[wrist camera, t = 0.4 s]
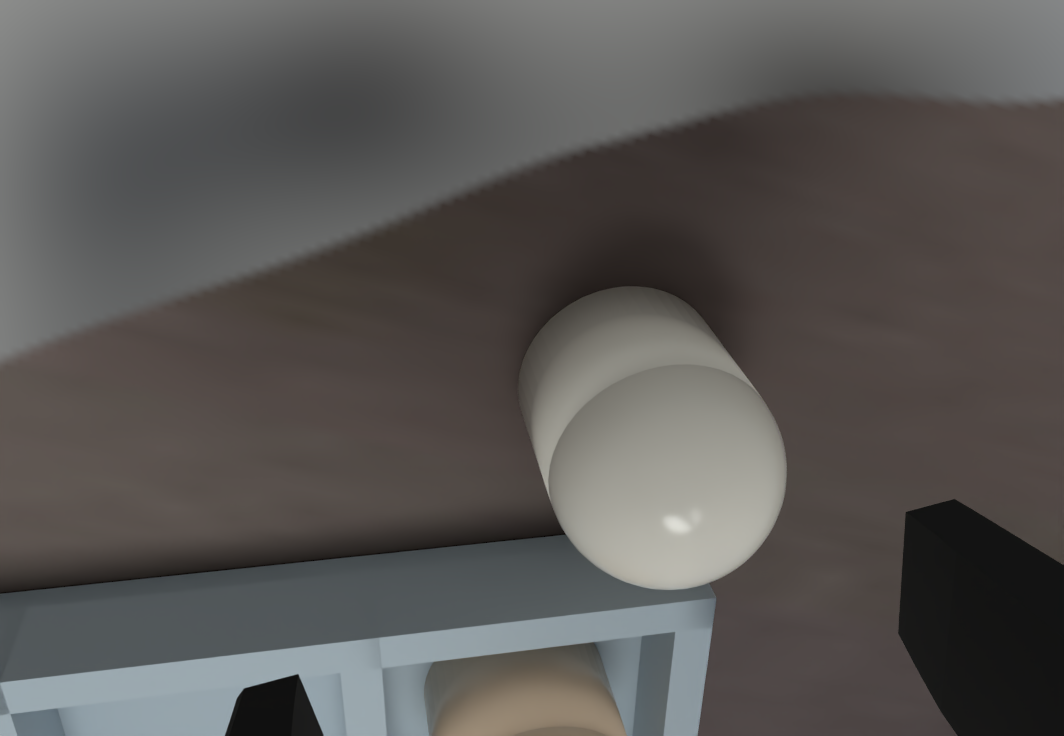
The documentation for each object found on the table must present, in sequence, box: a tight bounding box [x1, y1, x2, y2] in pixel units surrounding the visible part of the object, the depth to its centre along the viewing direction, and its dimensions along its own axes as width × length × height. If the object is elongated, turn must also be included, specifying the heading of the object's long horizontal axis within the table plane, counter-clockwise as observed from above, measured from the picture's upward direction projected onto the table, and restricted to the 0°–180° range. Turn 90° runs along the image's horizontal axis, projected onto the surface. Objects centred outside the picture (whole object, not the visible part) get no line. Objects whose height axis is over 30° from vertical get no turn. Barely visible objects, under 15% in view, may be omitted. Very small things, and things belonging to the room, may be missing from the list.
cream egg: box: [518, 286, 787, 590], centre depth 18 cm, size 4×4×5 cm
